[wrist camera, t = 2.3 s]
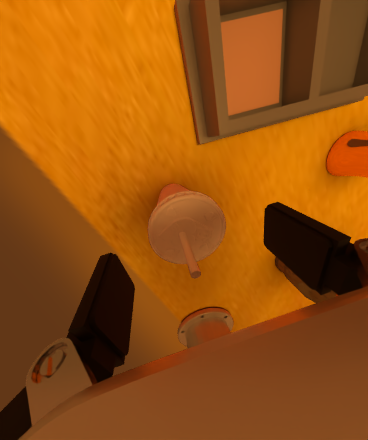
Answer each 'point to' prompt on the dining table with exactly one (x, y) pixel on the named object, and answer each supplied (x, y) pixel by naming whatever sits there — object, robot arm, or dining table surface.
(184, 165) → the dining table surface
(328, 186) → the dining table surface
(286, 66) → the drink carrier
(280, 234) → the robot arm
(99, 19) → the dining table surface
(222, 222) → the smoothie
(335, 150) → the beer glass
